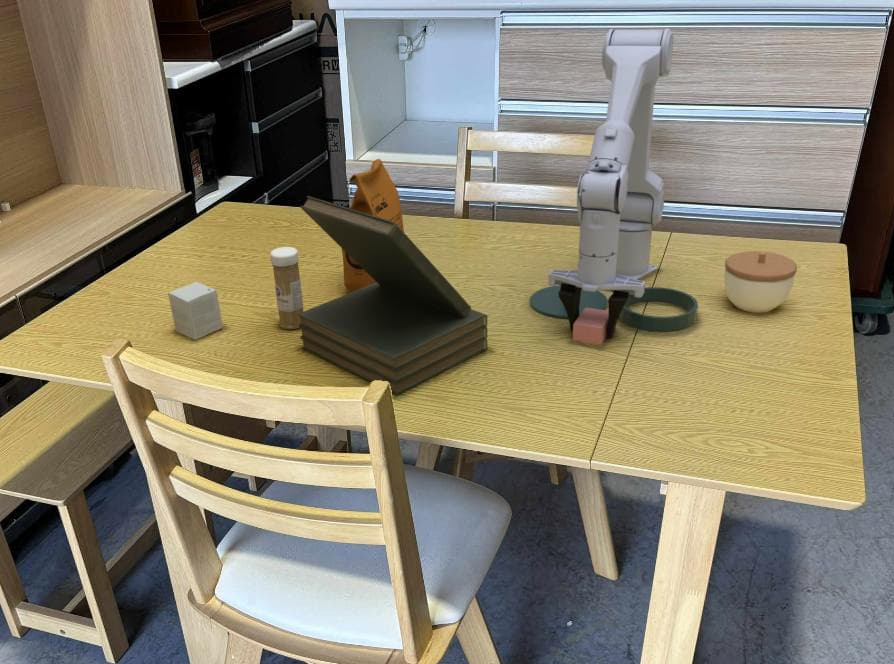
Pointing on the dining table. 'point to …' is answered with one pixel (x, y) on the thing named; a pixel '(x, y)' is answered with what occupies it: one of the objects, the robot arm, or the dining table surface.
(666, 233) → the dining table surface
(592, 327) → the soap
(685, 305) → the tin
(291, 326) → the sprinkles bottle
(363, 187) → the coffee package
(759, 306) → the trinket box
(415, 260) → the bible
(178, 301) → the product box
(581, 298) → the lid
